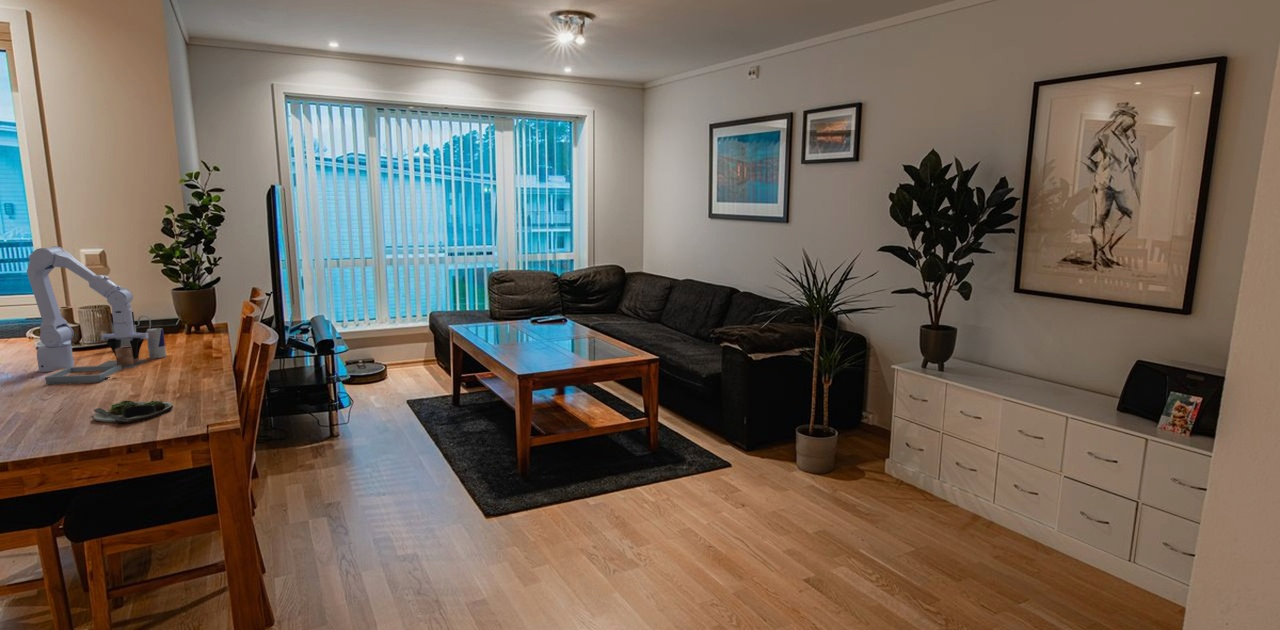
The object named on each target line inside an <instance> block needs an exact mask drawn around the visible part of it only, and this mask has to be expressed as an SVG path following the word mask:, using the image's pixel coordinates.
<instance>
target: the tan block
mask: <svg viewBox="0 0 1280 630" xmlns="http://www.w3.org/2000/svg"><path fill="white" fill-rule="evenodd" d="M115 353H116V356H115V360H116V361H117V365H133V364H135V363H137V362H139V360H140V357H139V358H136V359H134V357H133V350H132V346H122V347H120V348H117V349H115Z"/></svg>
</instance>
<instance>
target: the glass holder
mask: <svg viewBox="0 0 1280 630" xmlns="http://www.w3.org/2000/svg"><path fill="white" fill-rule="evenodd" d="M142 317H146V318H147V319H148V322H149V327H148V329H151V326H152V320H151V318H150V317H149V316H148V315H140V316H139V317H138V319H137V325H136V322H135V314H134V311H132V318H133V327H134V333H137V327H138V326H140V319H141V318H142ZM110 325H111V334H115V331H114V323H113V315H112V312H111V313H110ZM126 338H130V337H126ZM131 340H133V339H121V347H122V346H131V344H130V341H131Z"/></svg>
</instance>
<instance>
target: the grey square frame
mask: <svg viewBox="0 0 1280 630" xmlns="http://www.w3.org/2000/svg"><path fill="white" fill-rule="evenodd" d="M122 370H123V369H122V367H121V365H113V366H98V365H92V366H91V365H89V366H88V365H87V366H72V367H68V368H63V369H62V370H60V371H57V372H55V373H52V374H50V375H47V376H45V377H44V379H45V385H46V384H49V385H68V384H69V383H73V384H90V383H91V384H92V383H95V382H98V383H103V382H105V381H107V380H109V379H111V378H110V377H111V375H113V374H115V373H118V372H119V371H122ZM75 372H77V373H79V372H101V373H98V374H87V375H86V374H77V375H68V374H71V373H75ZM108 378H109V379H108ZM104 380H105V381H104ZM69 385H70V384H69Z"/></svg>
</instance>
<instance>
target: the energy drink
mask: <svg viewBox="0 0 1280 630" xmlns="http://www.w3.org/2000/svg"><path fill="white" fill-rule="evenodd" d="M145 333H148V336H149V338H147V339H146V340H147V348H148V350H147V351H148V357H149V358H148V359H151V360H159V359H164V358H166V357H167V352H166V343H165V334H164V329H163V327H152V328H150V329H149V328H147V329H146V332H145Z"/></svg>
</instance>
